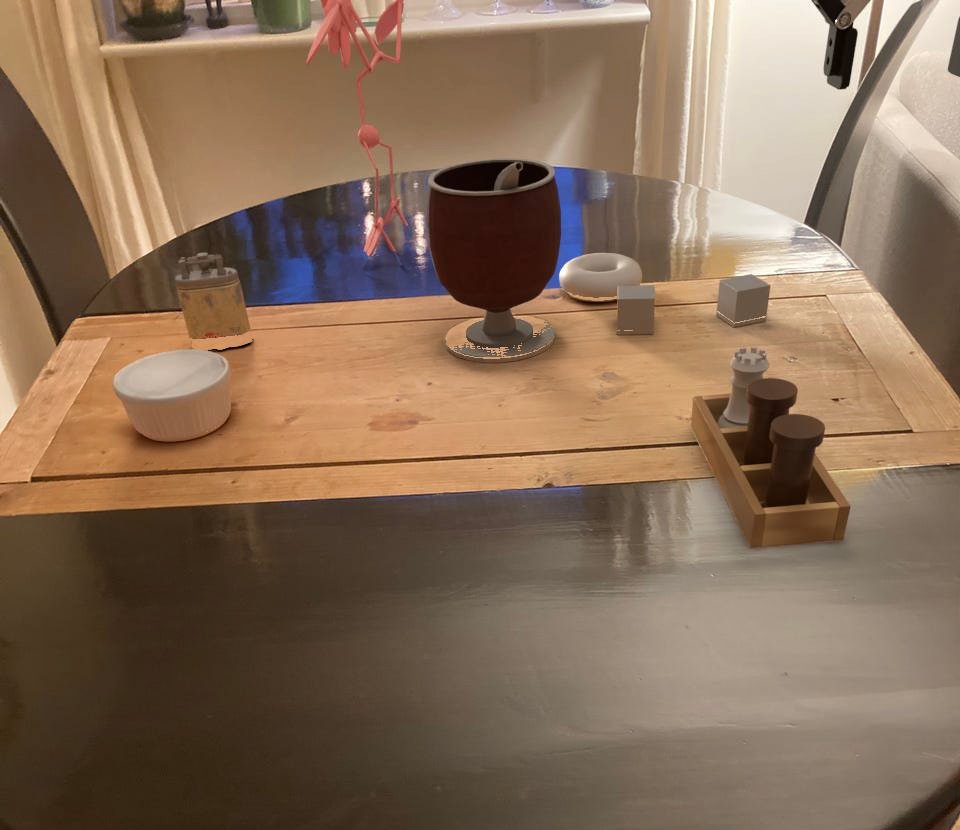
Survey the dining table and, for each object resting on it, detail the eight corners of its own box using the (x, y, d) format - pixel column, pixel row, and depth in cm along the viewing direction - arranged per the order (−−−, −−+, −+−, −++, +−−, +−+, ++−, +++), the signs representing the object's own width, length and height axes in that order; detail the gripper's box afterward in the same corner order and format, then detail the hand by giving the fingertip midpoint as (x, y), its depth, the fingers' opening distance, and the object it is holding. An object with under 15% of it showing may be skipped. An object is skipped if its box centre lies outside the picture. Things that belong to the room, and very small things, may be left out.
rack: (766, 426, 87) (772, 389, 85) (842, 546, 72) (851, 505, 70) (689, 432, 87) (693, 396, 85) (749, 554, 72) (754, 514, 70)
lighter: (254, 335, 112) (235, 247, 106) (253, 348, 109) (233, 258, 103) (193, 342, 112) (170, 255, 105) (190, 355, 109) (166, 266, 102)
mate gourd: (423, 329, 110) (403, 138, 97) (536, 308, 113) (531, 120, 100) (463, 381, 99) (446, 173, 86) (587, 356, 101) (589, 151, 89)
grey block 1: (652, 320, 108) (654, 284, 105) (653, 334, 105) (655, 298, 102) (616, 321, 109) (617, 285, 106) (616, 334, 105) (617, 299, 103)
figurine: (435, 224, 141) (409, -71, 118) (394, 287, 121) (354, -50, 99) (335, 225, 143) (292, -63, 121) (280, 288, 124) (215, -42, 101)
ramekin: (233, 443, 91) (219, 391, 88) (116, 453, 91) (99, 402, 88) (247, 392, 100) (235, 343, 97) (140, 401, 100) (125, 353, 97)
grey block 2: (747, 309, 109) (751, 273, 106) (766, 321, 106) (770, 285, 103) (715, 315, 108) (719, 279, 105) (733, 327, 105) (737, 291, 102)
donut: (639, 307, 111) (643, 275, 119) (640, 278, 109) (645, 247, 117) (554, 307, 113) (563, 276, 121) (554, 278, 111) (563, 248, 118)
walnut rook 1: (776, 464, 81) (790, 375, 76) (791, 488, 78) (806, 397, 73) (729, 468, 81) (740, 379, 76) (742, 492, 78) (754, 401, 73)
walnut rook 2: (799, 502, 76) (816, 411, 71) (816, 530, 73) (834, 436, 68) (750, 507, 76) (762, 415, 71) (764, 534, 73) (778, 441, 68)
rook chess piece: (754, 424, 86) (765, 339, 81) (774, 447, 83) (787, 359, 78) (707, 431, 86) (715, 345, 81) (725, 455, 82) (735, 367, 77)
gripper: (1053, -219, 67) (985, 63, 78) (807, -199, 67) (774, 81, 77) (1114, -226, 61) (1032, 80, 72) (845, -203, 61) (803, 100, 72)
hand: (898, 80), depth 75 cm, fingers open, 9 cm apart
